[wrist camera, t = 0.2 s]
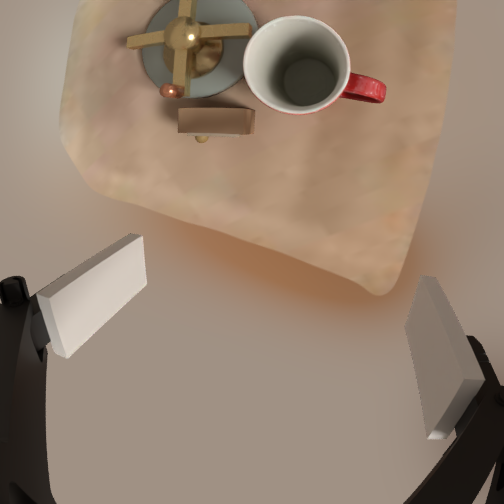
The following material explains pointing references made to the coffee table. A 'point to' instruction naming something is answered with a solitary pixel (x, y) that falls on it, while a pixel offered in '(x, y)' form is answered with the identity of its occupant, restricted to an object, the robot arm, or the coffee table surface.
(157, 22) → the stand plate
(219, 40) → the cam capstan
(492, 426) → the robot arm
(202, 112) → the brown angular block
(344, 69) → the mug
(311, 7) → the coffee table surface
